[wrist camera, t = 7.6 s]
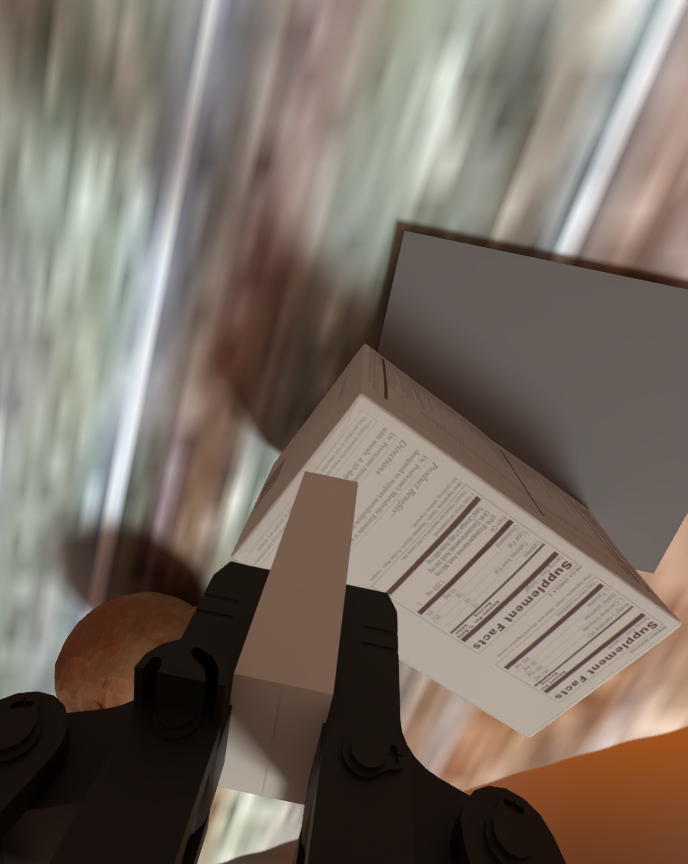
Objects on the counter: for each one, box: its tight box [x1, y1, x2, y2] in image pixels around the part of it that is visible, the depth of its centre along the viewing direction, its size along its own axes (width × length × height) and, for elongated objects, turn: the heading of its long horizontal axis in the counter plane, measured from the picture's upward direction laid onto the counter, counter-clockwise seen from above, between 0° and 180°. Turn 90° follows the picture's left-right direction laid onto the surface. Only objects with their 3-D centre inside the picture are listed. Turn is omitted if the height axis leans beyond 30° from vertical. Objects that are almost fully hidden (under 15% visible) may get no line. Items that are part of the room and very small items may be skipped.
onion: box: [55, 592, 197, 713], centre depth 30 cm, size 10×9×10 cm
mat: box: [377, 231, 688, 573], centre depth 26 cm, size 16×20×1 cm
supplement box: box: [231, 344, 681, 738], centre depth 24 cm, size 10×9×17 cm
